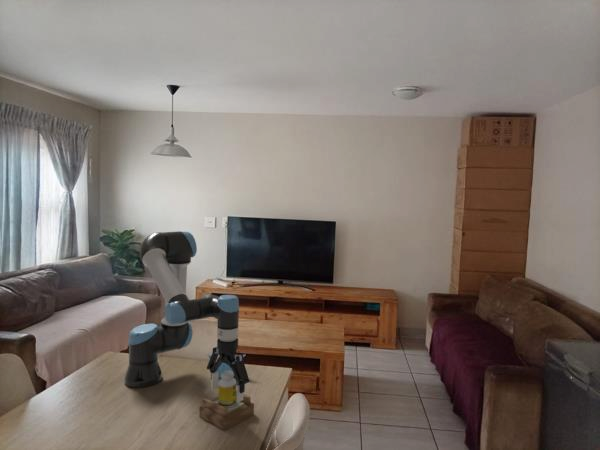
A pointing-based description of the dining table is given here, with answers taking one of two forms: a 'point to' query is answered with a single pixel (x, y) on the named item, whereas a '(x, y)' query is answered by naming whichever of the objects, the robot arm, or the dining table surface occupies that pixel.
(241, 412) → the wooden tray
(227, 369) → the teapot
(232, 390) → the pill bottle
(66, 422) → the dining table surface
